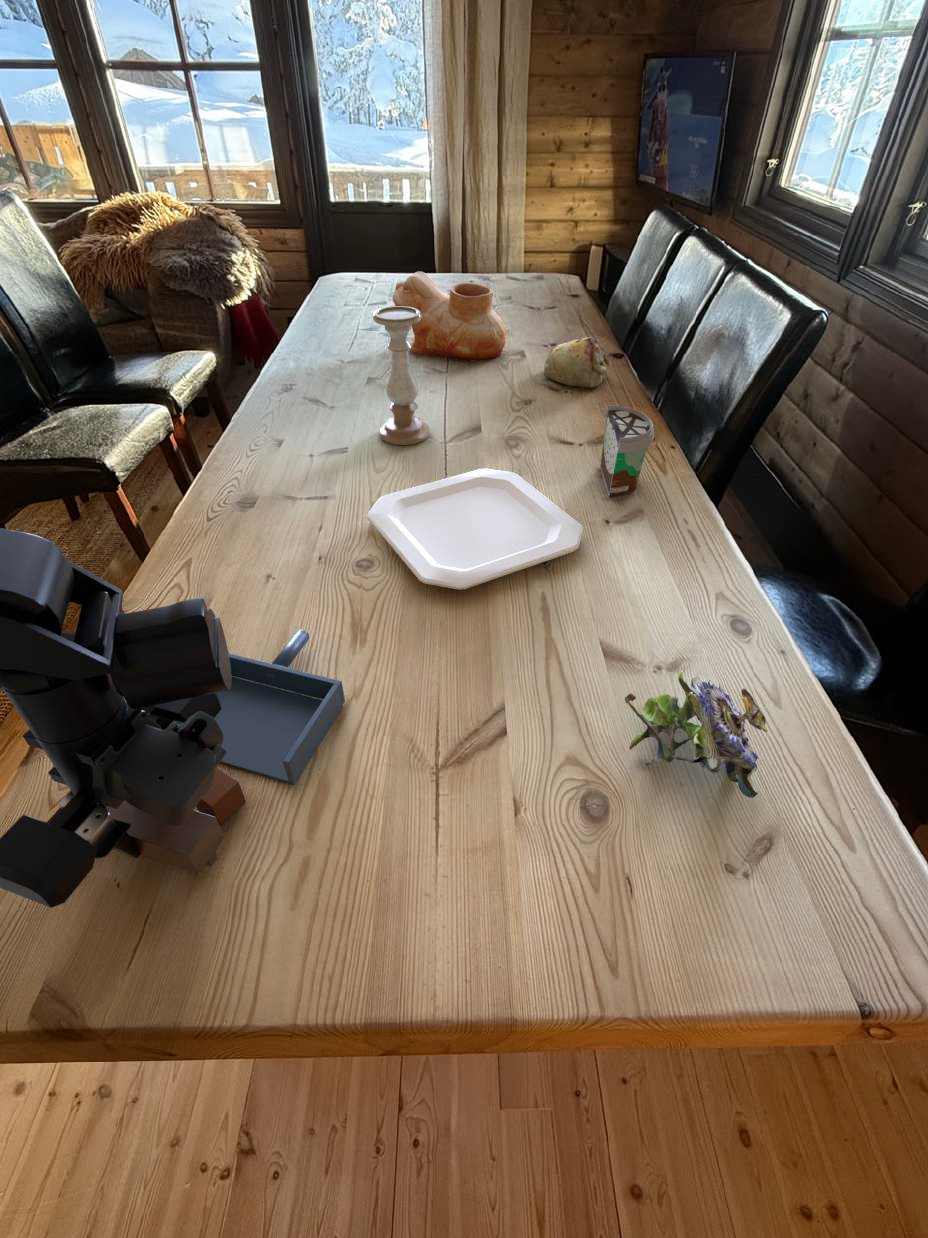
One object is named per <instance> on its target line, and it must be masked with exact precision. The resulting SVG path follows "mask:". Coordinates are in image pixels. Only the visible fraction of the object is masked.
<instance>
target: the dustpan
mask: <svg viewBox="0 0 928 1238" xmlns="http://www.w3.org/2000/svg"><path fill="white" fill-rule="evenodd" d="M309 640H310V633H309V632H308V631H307V630H305V629H298V630H297V631H296V632H295V633H294V635H293V636H292V637H291V638H290V640H288V642H287V644H285V646H284V647H283V648H282V650H281V651H280V653H279V654H278V655H277V656H276V657H275V658H274V660H273V661H272V662H267V661H263V660H259V659H256V658H251V657H247V656H243V655H240V654H235V653H231V652H228V654H229V659H230V666H231V676H232V685H231V689H230V690H227V691H222V692H217V693H216V694H217V696H218V699H219V702H220V705H221V708H222V709H221V711H220V712H219V713H218V714H217V716H216V717H215V719H216V721H217V723H218V725H219V727H220V729H221V731H222V733H223V743H222V744H221V746H222V747H223V748H224V749H225V750H226V751H227V754H226V755H225V756H224V758H223V759H222V760H221V762H220V763H219V764H223V765H227V766H231V767H233V768H237V769H240V770H244V771H248V772H251V773H254V774H258V775H261V776H264V777H268V778H271V779H274V780H278V781H281V782H284V783H287V784H291V785H294V786H295V785H296V784H297V782H298V780H299V779H300V777H301V775H302V774H303V772H304V771H305V769H306V767H307V766H308V764H309V763H310V761H311V759H312V758H313V756H314V754H315V753H316V751H317V750H318V749H319V747H320V745H321V743H322V742H323V740H324V738H325V737H326V735H327V734H328V732H329V731H330V729H331V728H332V727H333V726H332V725H334V723H335V721H336V719H337V718H338V716H339V714H341V711H342V710H343V708H344V704H345V702H346V697H345V692H344V686H343V682H342V680H340V679H339V680H338V679H335V678H331V677H326V676H323V675H319V674H315V673H311V672H307V671H302V670H299V669H295V668H291V667H290V666H291V664H292V663H293V662H294V660H295V658H297V656H298V655H299V654H300V652H301V651H302V649H303V648H304V647H305V645H306V644H307V643H308V642H309ZM149 714H150V713H148V715H149ZM174 722H175V723H177V724H178V725H182V724H184V723H183V722H179V721H176V720H175V721H174Z"/></svg>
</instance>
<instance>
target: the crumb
mask: <svg viewBox="0 0 928 1238" xmlns="http://www.w3.org/2000/svg"><path fill="white" fill-rule="evenodd" d="M246 802H247V801H246V798H245V795H244V793H243V790H242V788H241V785H240V782H239V781H238V780H236V779H235V778H233V777H232V776H230V775H229V774H227V773H226V772H225V771H223V770H221V769H220V768H218V766H217V767H216V768H215V773H214V782H213V785H212V786H211V788H210V789H209V790H208V791H207V792H206V793H205V795H204V796H203V797H202V799H201V800H200V801H199V803H198V804H197V806H196V807H195V808H196V809H197V811H198V812H201V813H204V814H207V815H210V816H214V817H216V819H217V821H218V824H219V826H220V827H221V826H222V825H223V824H224V823H225V822H226V821H227V820H228V819H229V818H231V816H233V814H234V813H236V811H238V810H239V809H240V808H241V807H242V806H244V804H245V803H246Z"/></svg>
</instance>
